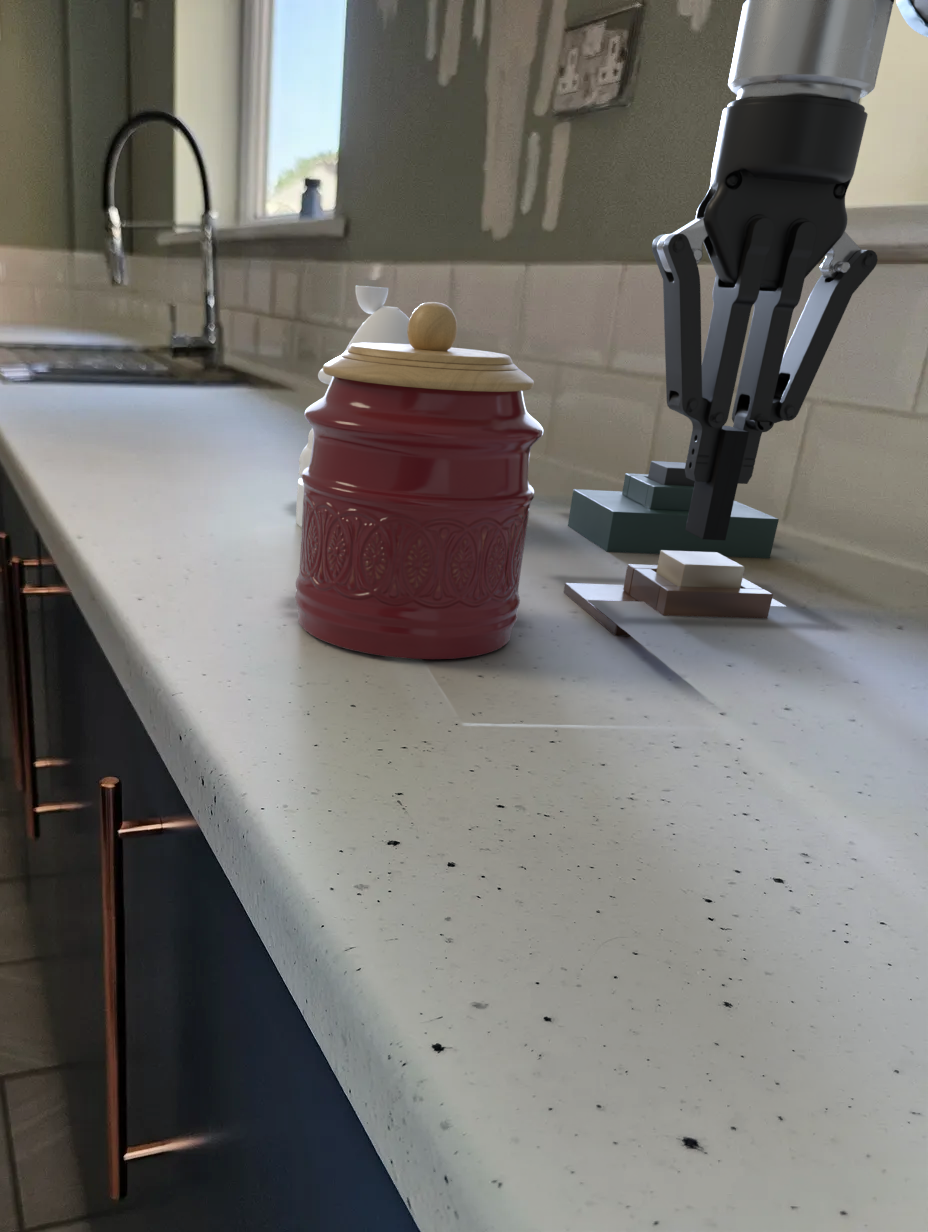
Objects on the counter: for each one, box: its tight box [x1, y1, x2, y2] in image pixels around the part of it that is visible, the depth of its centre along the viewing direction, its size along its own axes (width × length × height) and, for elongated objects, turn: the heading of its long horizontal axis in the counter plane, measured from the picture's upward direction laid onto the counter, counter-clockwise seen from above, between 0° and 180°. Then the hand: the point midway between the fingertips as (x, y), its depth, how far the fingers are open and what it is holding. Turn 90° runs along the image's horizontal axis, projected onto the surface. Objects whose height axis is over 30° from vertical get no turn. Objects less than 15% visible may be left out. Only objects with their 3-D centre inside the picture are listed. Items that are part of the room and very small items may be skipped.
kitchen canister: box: [294, 301, 545, 660], centre depth 62 cm, size 13×13×18 cm
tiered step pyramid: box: [567, 472, 780, 559], centre depth 94 cm, size 14×10×5 cm
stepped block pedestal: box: [563, 563, 786, 637], centre depth 73 cm, size 14×10×2 cm
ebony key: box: [648, 460, 695, 486], centre depth 93 cm, size 4×4×2 cm
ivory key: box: [656, 550, 746, 588], centre depth 72 cm, size 4×4×2 cm
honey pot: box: [295, 285, 410, 528], centre depth 90 cm, size 13×13×18 cm
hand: (705, 534), depth 71 cm, fingers closed
